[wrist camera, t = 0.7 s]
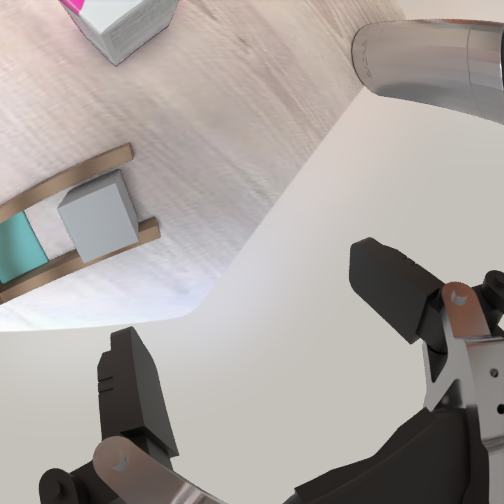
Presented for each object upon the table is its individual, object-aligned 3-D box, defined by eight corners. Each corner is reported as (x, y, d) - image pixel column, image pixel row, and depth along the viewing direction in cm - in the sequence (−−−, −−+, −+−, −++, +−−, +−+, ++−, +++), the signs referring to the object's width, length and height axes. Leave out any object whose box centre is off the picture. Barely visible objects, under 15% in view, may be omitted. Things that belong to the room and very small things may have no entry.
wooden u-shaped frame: (129, 142, 22) (128, 145, 20) (159, 227, 27) (161, 237, 25) (-35, 229, 18) (-43, 238, 16) (3, 294, 23) (-2, 305, 21)
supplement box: (172, 24, 18) (197, -28, 9) (115, 68, 18) (95, 42, 9) (133, -16, 15) (135, -83, 5) (77, 28, 15) (36, -17, 6)
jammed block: (119, 169, 22) (115, 183, 19) (138, 219, 25) (138, 241, 21) (69, 190, 21) (56, 208, 18) (90, 238, 24) (84, 263, 20)
